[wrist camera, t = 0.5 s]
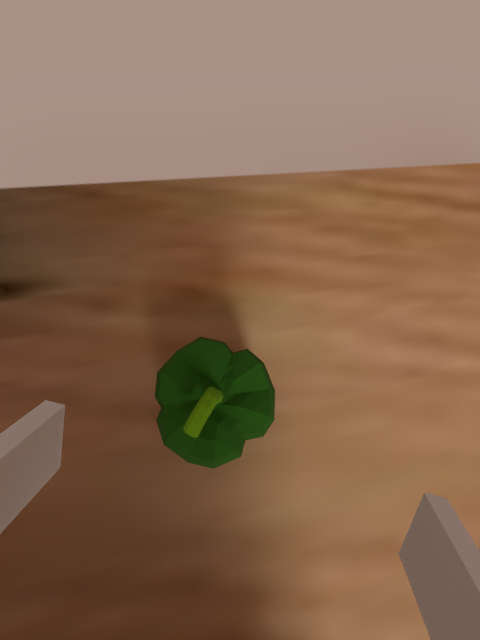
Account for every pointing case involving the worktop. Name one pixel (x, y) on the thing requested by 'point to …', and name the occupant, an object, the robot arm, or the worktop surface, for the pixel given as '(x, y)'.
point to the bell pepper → (213, 402)
